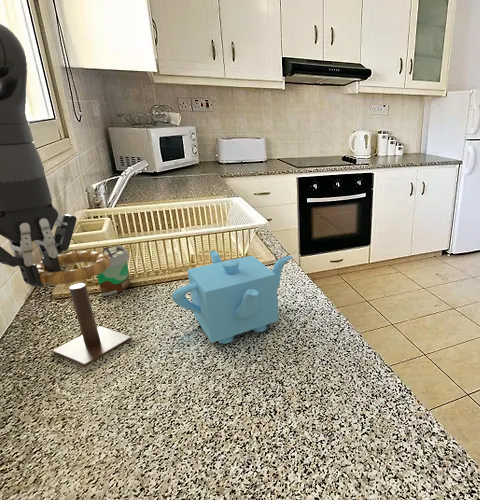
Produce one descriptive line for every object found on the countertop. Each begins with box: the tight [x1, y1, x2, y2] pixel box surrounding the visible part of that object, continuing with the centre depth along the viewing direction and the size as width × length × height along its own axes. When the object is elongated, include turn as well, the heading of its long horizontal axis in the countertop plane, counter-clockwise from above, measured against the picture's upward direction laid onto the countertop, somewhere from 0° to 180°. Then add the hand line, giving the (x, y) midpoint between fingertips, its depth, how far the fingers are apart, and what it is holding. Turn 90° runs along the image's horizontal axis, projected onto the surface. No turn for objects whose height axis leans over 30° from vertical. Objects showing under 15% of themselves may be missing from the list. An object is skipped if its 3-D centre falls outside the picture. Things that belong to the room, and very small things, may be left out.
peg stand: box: [51, 282, 133, 368], centre depth 68 cm, size 9×9×14 cm
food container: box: [92, 245, 131, 297], centre depth 91 cm, size 12×6×10 cm, turn 22°
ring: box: [35, 250, 110, 285], centre depth 64 cm, size 11×11×2 cm
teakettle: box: [171, 250, 293, 345], centre depth 77 cm, size 19×19×15 cm
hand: (44, 281), depth 60 cm, fingers closed on ring, 2 cm apart
